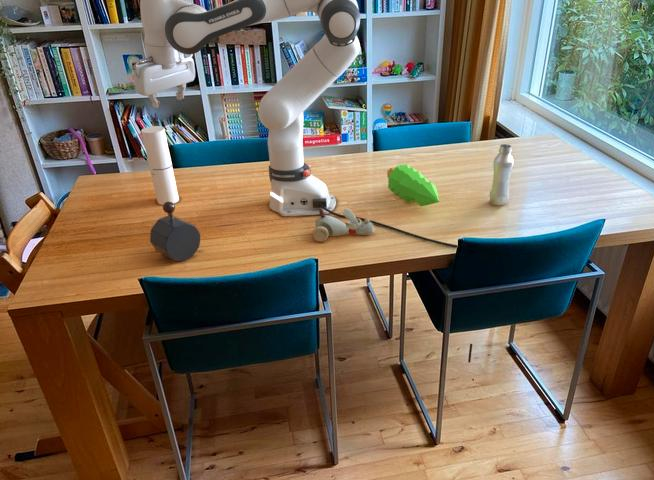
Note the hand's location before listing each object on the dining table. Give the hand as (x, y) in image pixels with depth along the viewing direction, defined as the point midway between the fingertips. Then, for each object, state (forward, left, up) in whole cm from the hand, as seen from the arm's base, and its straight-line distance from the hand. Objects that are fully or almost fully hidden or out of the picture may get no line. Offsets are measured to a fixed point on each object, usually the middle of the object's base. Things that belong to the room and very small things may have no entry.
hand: (168, 103), depth 159 cm
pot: (-6, +25, -37) cm, 44 cm away
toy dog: (-51, +9, -37) cm, 63 cm away
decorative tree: (-72, -16, -37) cm, 82 cm away
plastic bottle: (-101, -17, -37) cm, 109 cm away
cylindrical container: (+12, -11, -37) cm, 40 cm away
